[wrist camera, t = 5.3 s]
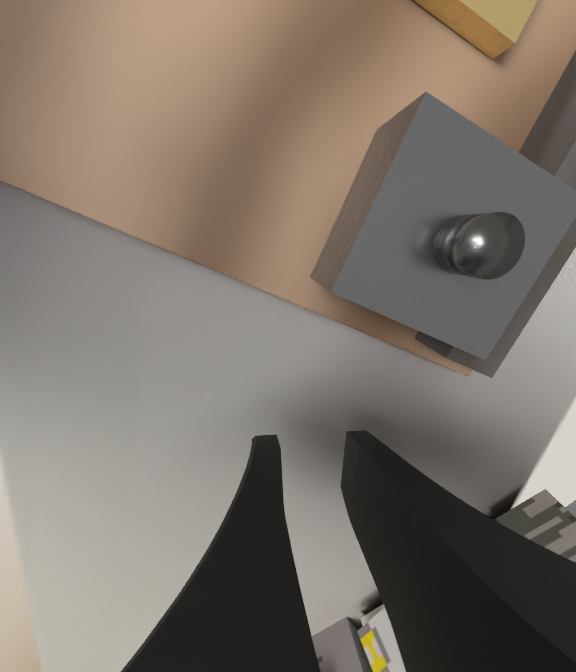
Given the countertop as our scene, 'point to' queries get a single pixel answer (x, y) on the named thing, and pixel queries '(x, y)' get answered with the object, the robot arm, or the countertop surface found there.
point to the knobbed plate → (444, 228)
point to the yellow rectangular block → (483, 20)
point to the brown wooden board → (264, 125)
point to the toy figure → (377, 634)
